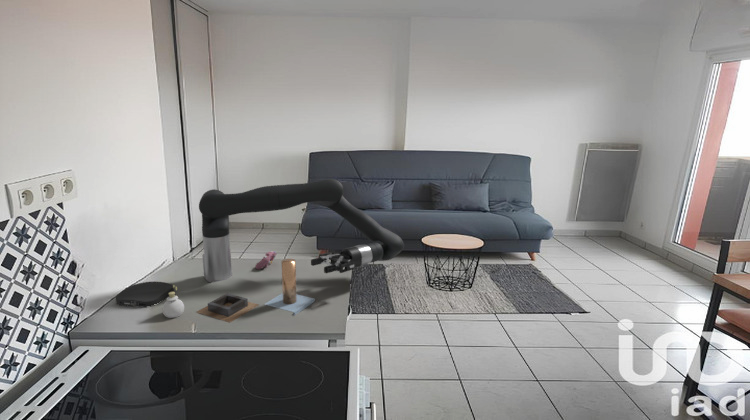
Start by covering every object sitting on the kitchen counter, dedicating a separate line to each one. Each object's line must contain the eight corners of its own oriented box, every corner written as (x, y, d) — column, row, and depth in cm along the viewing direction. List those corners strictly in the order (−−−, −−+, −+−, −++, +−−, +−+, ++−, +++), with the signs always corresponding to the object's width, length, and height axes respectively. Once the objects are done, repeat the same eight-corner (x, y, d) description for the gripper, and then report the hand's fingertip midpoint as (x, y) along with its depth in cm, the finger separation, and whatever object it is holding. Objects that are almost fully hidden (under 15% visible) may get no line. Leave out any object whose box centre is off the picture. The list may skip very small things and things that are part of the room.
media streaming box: (178, 290, 152) (177, 282, 152) (152, 309, 138) (151, 300, 138) (140, 287, 154) (139, 279, 153) (110, 305, 140) (109, 297, 139)
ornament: (160, 322, 130) (156, 291, 127) (170, 310, 137) (166, 281, 134) (180, 322, 130) (177, 291, 127) (189, 310, 137) (186, 281, 135)
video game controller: (263, 274, 171) (270, 259, 169) (253, 268, 171) (260, 253, 169) (273, 265, 180) (280, 251, 178) (264, 259, 180) (270, 245, 178)
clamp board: (196, 314, 134) (195, 304, 133) (227, 298, 146) (226, 289, 145) (230, 325, 128) (229, 314, 127) (259, 307, 140) (259, 297, 139)
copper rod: (280, 302, 141) (278, 262, 138) (288, 297, 145) (287, 257, 142) (291, 305, 139) (289, 264, 136) (299, 300, 143) (298, 260, 140)
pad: (264, 307, 140) (264, 304, 140) (285, 294, 150) (285, 291, 149) (294, 315, 135) (294, 312, 135) (314, 301, 145) (314, 298, 144)
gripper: (345, 241, 160) (306, 250, 151) (368, 251, 150) (329, 262, 140) (345, 260, 162) (307, 270, 153) (368, 272, 152) (329, 283, 142)
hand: (317, 266), depth 146 cm, fingers open, 8 cm apart
